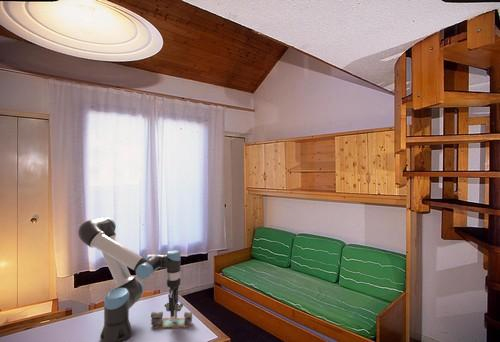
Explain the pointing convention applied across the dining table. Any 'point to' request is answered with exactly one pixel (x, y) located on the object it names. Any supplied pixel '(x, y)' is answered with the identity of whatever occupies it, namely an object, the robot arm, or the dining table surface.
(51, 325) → the dining table surface
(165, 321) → the mint panel frame
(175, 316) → the mechanical component
